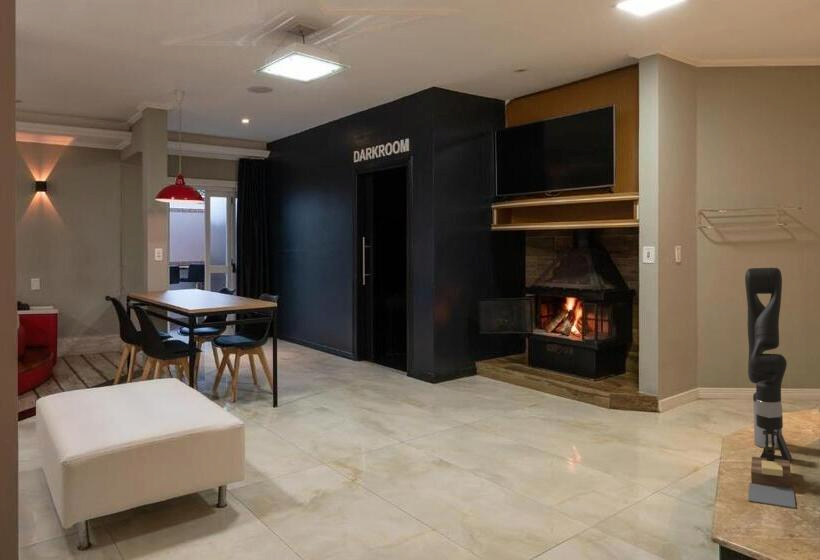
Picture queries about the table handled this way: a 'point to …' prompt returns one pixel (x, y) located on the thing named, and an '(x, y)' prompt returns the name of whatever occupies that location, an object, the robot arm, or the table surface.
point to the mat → (772, 495)
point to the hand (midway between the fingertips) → (770, 463)
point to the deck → (770, 480)
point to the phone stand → (782, 447)
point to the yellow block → (772, 468)
